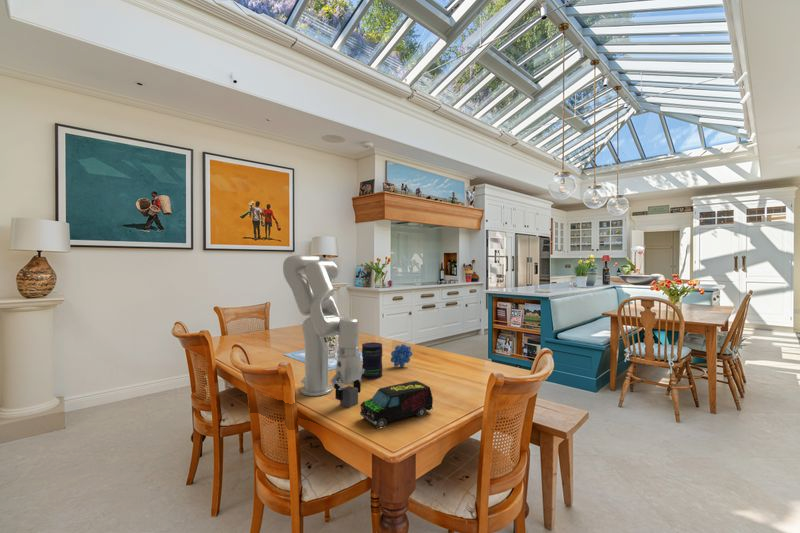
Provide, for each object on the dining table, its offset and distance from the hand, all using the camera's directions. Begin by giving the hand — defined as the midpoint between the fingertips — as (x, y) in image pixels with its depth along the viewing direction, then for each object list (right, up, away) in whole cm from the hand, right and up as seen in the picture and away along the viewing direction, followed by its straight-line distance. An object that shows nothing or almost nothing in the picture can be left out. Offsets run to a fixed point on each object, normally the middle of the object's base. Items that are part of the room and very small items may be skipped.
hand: (348, 395), depth 136 cm
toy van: (+19, -4, -11) cm, 22 cm away
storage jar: (+7, -3, +34) cm, 35 cm away
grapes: (+20, -3, +50) cm, 54 cm away
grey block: (0, -3, 0) cm, 3 cm away
